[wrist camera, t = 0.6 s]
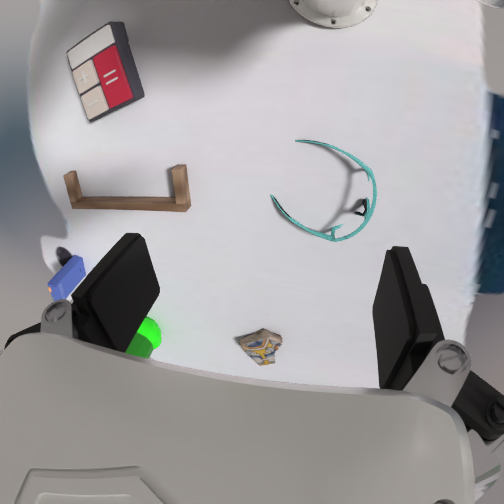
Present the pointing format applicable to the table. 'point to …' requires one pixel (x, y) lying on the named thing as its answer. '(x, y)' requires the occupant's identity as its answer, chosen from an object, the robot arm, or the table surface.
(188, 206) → the holder
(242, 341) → the ceramic tile fragment
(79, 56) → the calculator
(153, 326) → the plastic bottle
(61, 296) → the walkman
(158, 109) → the table surface
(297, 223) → the teal safety glasses
